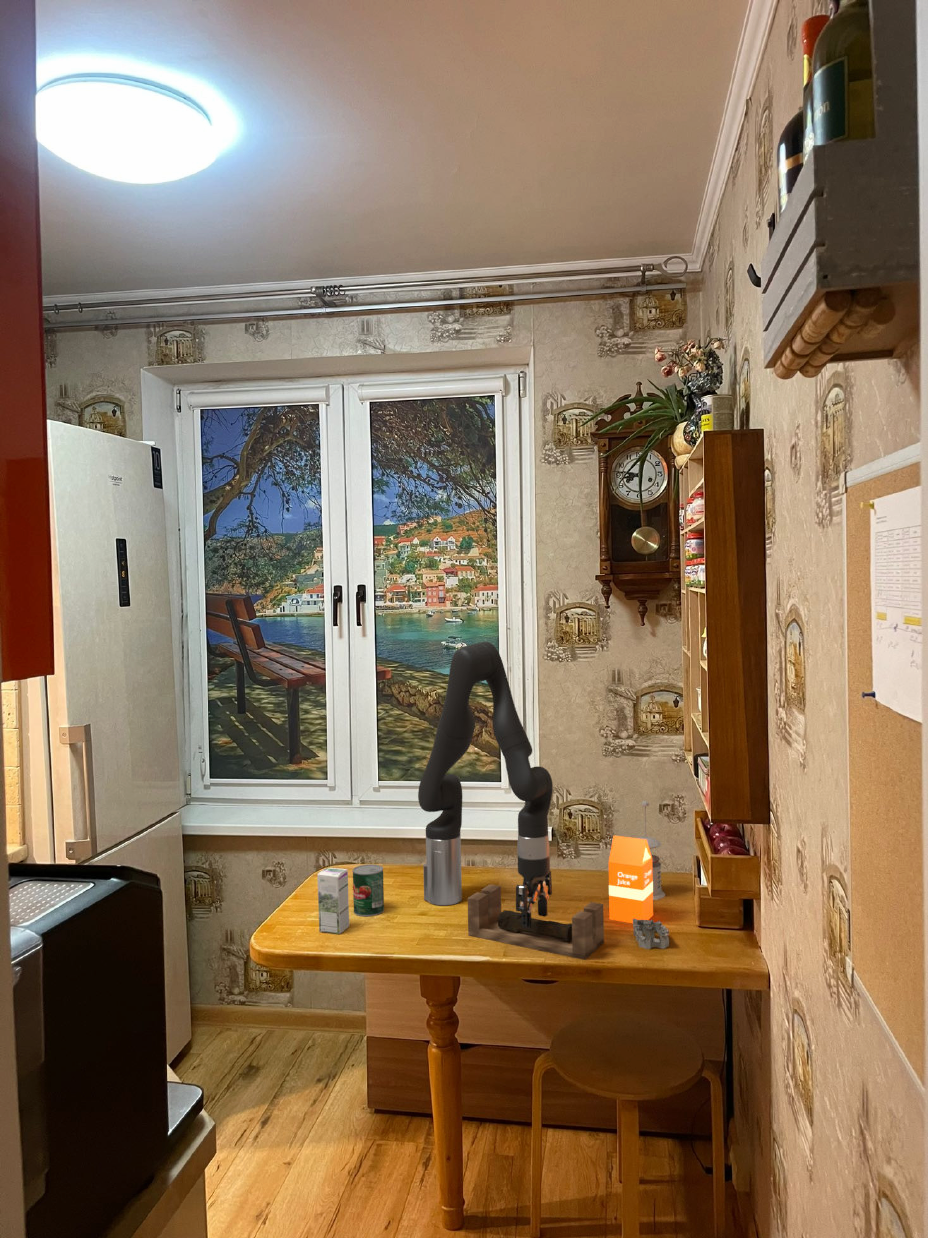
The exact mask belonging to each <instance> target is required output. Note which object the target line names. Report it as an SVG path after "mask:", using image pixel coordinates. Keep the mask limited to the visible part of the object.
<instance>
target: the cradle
mask: <svg viewBox="0 0 928 1238" xmlns="http://www.w3.org/2000/svg"><path fill="white" fill-rule="evenodd" d="M501 912H502V887H501V885H496V884H489V885H487V886H485V887H483V888H482V889H480V892H479V891H477V892H475V893H473V894H472V895H470V896H469V897H467V926H468V927H467V931H468V933H467V934H468V936H470V937H474V938H479V939H484V940H490V941H494V942H498V943H503V944H509V945H513V946H517V947H521V948H527V949H531V950H537V951H542V952H545V953H550V954H551V953H552V954H556V955H561V956H566V957H569V958H575V959H578V960H585V961H586V959H588V958H589V957H590V956H591V955H592V954H593V953H594V952H595V951H596V950H598V948H600V947H601V946H602V945H603V944H604V943H605V934H604V933H605V931H604V927H605V925H604V921H605V920H604V918H605V917H604V903H599V902H594V901H591V902H589V903H588V904H586V906H584V907H583V910H579V911H578V912H577V913H576V914H574V915H573V916H571V924H572V940H571V941H570V942H569V943H567V941H566V940H565V939H558V938H554V937H549V936H544V935H539V934H533V933H528V932H522V931H521V932H520V933H514V932H511V931H508V930H505V929H502V928H500V927H499V926H498V918H499V916H500V913H501Z"/></svg>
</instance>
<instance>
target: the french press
mask: <svg viewBox="0 0 928 1238" xmlns="http://www.w3.org/2000/svg"><path fill="white" fill-rule="evenodd" d="M649 803H650V802H648V801H646V800H644V801H642V802H641V806H643V807H644V833H645V835H644V836H643V835H642V836H638V837H637V838H638V839H646V840H647V843H648V846H649V850H653V849H657V848H659V847H661V845H662V843H661V841H659V840H658V839H656V838H653V837H652V836H647V810H646V808H647V807H649V806H650V805H649ZM651 857H652V874H653V901H656V900H657V901H658V900H661V899H663V898H664V897H665V896H666V893H665V892H664V891H663V890H662V863H661V862H660V859H661V858H660V857H659V856H657V855H655V854H651Z"/></svg>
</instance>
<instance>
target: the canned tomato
mask: <svg viewBox="0 0 928 1238" xmlns="http://www.w3.org/2000/svg"><path fill="white" fill-rule="evenodd" d="M384 885H385V884H384V867H383V866H381V865H378V864H372V863H371V864H369V863H368V864H362V865H357V866H355V867H354V868H353V869H352V895H353V898H352V899H353V914H354V915H355V916H359V917H365V918H366V917H375V916H378V915H381V914H382V913H384V912H385V896H384V891H385V889H384V887H385V886H384Z"/></svg>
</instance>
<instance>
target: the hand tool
mask: <svg viewBox="0 0 928 1238" xmlns="http://www.w3.org/2000/svg"><path fill="white" fill-rule="evenodd" d="M498 926H499V927H500V928H502V929H505V930H508V931H511V932H514V933H520V932H521V931H522V932H528V933H533V934H539V935H544V936H549V937H554V938H558V939H565V940H566V941H567V943H569V942H570V941H571V940H572V922H570V923H563V922H559V921H558V922H557V921H553V920H544V919H538V918H533V917H531V928H529V929H528V928H523V927H522V920H521V912H519V911H513V910H503V911H501V913H500V916H499V918H498Z"/></svg>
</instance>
